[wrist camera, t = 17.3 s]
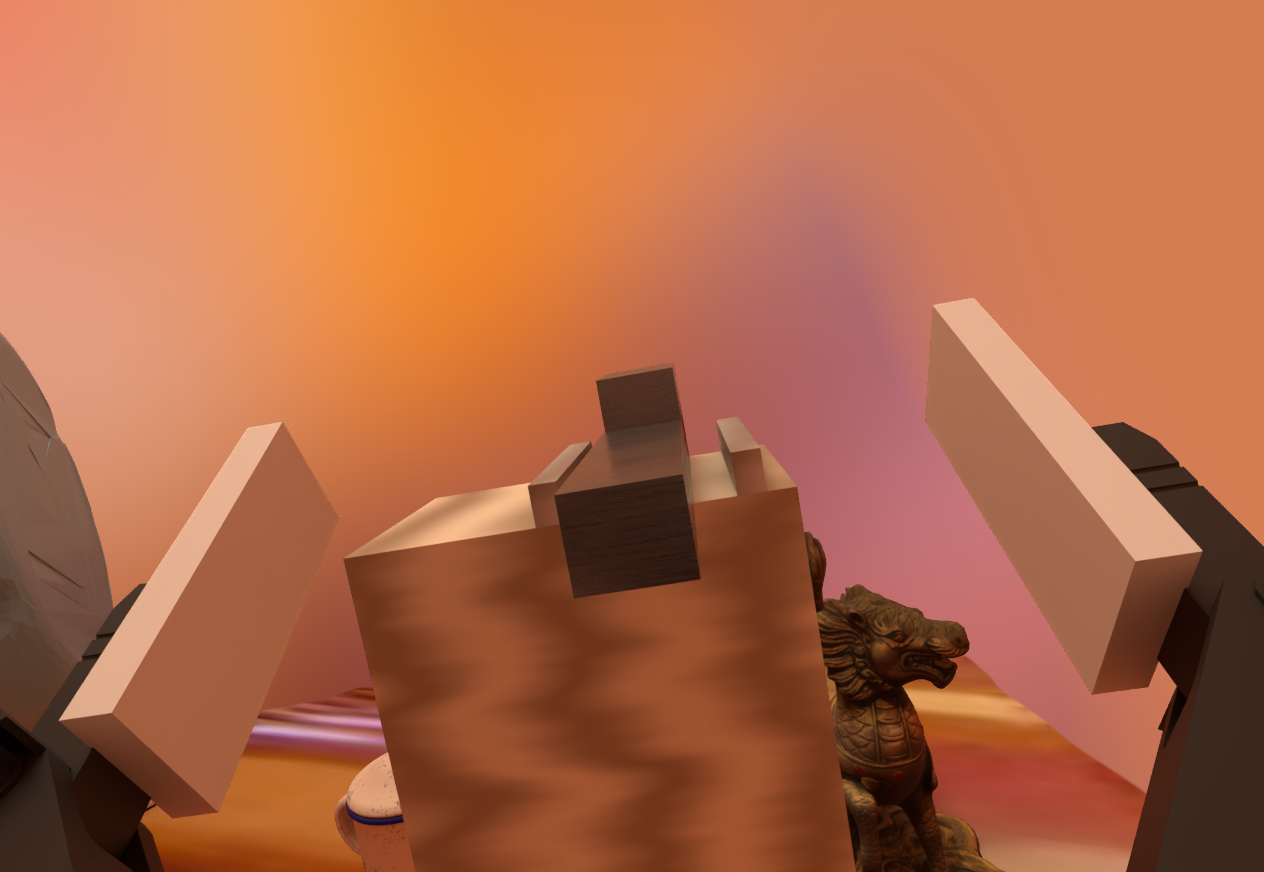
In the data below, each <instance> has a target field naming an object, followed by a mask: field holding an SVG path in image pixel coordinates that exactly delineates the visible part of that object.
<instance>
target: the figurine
mask: <svg viewBox="0 0 1264 872" xmlns="http://www.w3.org/2000/svg"><path fill="white" fill-rule="evenodd" d="M804 536H805V542H806V549H807V555H808V562H809V568H810V575H811V581H812V588H813V595H814V601H815V608H816V614H817V621H818V627H819V634H820V640H821V647H822V653H823V660H824V666H825V673H826V679H827V686H828V692H829V699H830V705H831V712H832V719H833V725H834V732H835V738H836V745H837V751H838V758H839V764H840V771H841V777H842V784H843V790H844V797H845V803H846V810H847V816H848V823H849V830H850V836H851V843H852V849H853V856H854V862H855V869H856V872H1004V871H1002V870H999V869H998V868H996V867H995V866H994V865H992V864H991V863H990V862H988V861H987V860H985V859H983V858H982V856H981V854H980V852H979V844H978V839H977V836H976V834H975V832H974V830H973V829H972V828H971V827H970V826H969V825H968V824H967V823H966V822H964V821H963V820H961V819H959V818H956V817H954V816H949V815H945V814H938V813H936V812H935V808H934V804H933V800H932V792H933V791H934V790H935V789H936V788H937V786H938V781H937V777H936V774H935V771H934V766H933V761H932V756H931V753H930V750H929V747H928V745H927V742H926V739H925V736H924V730H923V726H922V724H921V723H920V720H919V718H918V715H917V712H916V710H915V708H914V705H913V704H912V702H911V700H910V699H909V697H908V695H907V693H906V692H905V690H904V688H903V687H902V685H904V684H906V683H909V682H911V681H914V680H917V679H925V680H928V681H931V682H932V683H933V685H934V686H936V687H937V688H941V689H943V688H945V687H946V686H947V685H948V684H949V683H950V682H951V681H952V680H953V678H954V676H955V673H956V670H957V667H958V666H957V664H956V663H954V662H952V661H950V660H949V659H948V658H956V657H959V656H962V655H965V654H966V652H967V651H968V650H969V641H968V638H967V635H966V632H965V629H964V627H962V626H961V625H960V624H959V623H957V622H952V621H937V620H930V619H926V618H924V616H923V613H922V612H921V611H920V610H918V609H916V608H909V607H906V606H904V605H901V604H899V603H897V602H894V601H892V600H889V599H887V598H884V597H883V596H881V595H880V594H876V593H872V592H871V591H869V590H867V589H866V588H865V587H863V586H862V585H860V584H857V585H855V586H853V587H852V588H845V590H846V594H844V593H843V594H841V597H840V600H835V599H825V600H824V601H823V597H822V586H823V581H824V577H825V571H826V558H825V553H824V551H823V549H822V545H821V543H820V542H819V540H818V539H816V538H813V536H812V534H810V532H804Z"/></svg>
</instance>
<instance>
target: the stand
mask: <svg viewBox="0 0 1264 872" xmlns="http://www.w3.org/2000/svg"><path fill="white" fill-rule="evenodd" d="M716 423H717V428H718V435H719V441H720V447H721V452H715V453H708V454H703V455H697V456H690V457H689V458H690V468H691V479H692V490H693V501H694V512H695V522H696V533H697V544H698V555H699V565H700V576H701V580H694V581H688V582H681V583H674V584H668V585H661V586H654V587H648V588H641V589H635V590H628V591H621V592H615V593H608V594H601V595H595V596H588V597H581V598H575V599H574V597H573V591H572V586H571V581H570V576H569V571H568V566H567V560H566V555H565V550H564V545H563V540H562V534H561V529H560V524H559V519H558V514H557V509H556V503H555V498H554V495H555V493H556V492H557V491H558V490H559V488H560V487H561V486H562V485H563V483H564V482H565V481H566V480H567V478H568V477H569V476H570V475H571V473H572V472H573V471H574V470H575V468H576V467H577V466H578V465H579V463H580V462H581V461H582V460H583V458H584V457H585V456H586V455H587V453H588V452H589V451H590V450H591V448H592V444H591V441H590V442H584V443H578V444H572V445H570V446H569V447H568V448H567V449H566V450H565V451H563V452H562V453H561V454H560V455H559V456H558V457H557V458H556V459H555V460H554V461H553V462H552V463H551V464H550V465H549V466H548V467H547V468H546V469H545V470H544V471H543V472H542V473H541V474H539V475H538V476H537V477H536V478H535V479H534V480H533V481H532V482H531V483H526V484H520V485H514V486H508V487H502V488H496V489H490V490H484V491H478V492H473V493H466V494H460V495H453V496H448V497H442V498H436V499H434V500H433V501H431V502H430V503H428V504H427V505H425V506H424V507H422V508H421V509H419V510H418V511H416V512H414V513H413V514H411V515H410V516H409V517H407V518H405V519H404V520H402V521H401V522H399V523H398V524H396V525H395V526H393V527H391V528H390V529H388V530H387V531H385V532H384V533H382V534H381V535H379V536H378V537H376V538H374V539H373V540H371V541H370V542H369V543H367V544H365V545H364V546H363V547H361V548H359V549H358V550H356V551H355V552H353V553H352V554H350V555H349V556H347V557H345V558H344V563H345V568H346V572H347V576H348V581H349V585H350V589H351V594H352V598H353V602H354V606H355V611H356V615H357V620H358V624H359V628H360V632H361V637H362V641H363V646H364V650H365V654H366V659H367V663H368V668H369V672H370V676H371V681H372V685H373V689H374V694H375V698H376V702H377V707H378V711H379V715H380V720H381V724H382V728H383V733H384V737H385V742H386V746H387V750H388V755H389V759H390V763H391V768H392V772H393V776H394V781H395V785H396V789H397V794H398V798H399V802H400V807H401V811H402V815H403V820H404V824H405V828H406V833H407V837H408V842H409V846H410V850H411V855H412V859H413V863H414V868H415V872H856V869H855V862H854V856H853V849H852V843H851V836H850V830H849V823H848V816H847V810H846V803H845V797H844V790H843V784H842V777H841V771H840V764H839V758H838V751H837V745H836V738H835V732H834V725H833V719H832V712H831V705H830V699H829V692H828V686H827V679H826V673H825V666H824V660H823V653H822V647H821V640H820V634H819V627H818V621H817V614H816V608H815V601H814V595H813V588H812V581H811V575H810V568H809V562H808V555H807V549H806V542H805V536H804V529H803V523H802V516H801V510H800V503H799V497H798V490H797V486H796V485H795V483H794V482H793V481H792V480H791V478H790V477H789V476H788V475H787V473H786V472H785V471H784V470H783V468H782V467H781V466H780V465H779V463H778V462H777V461H776V459H775V458H774V457H773V456H772V454H771V453H770V452H769V451H768V449H767V448H766V447H765V446H764V445H758V444H757V443H756V441H755V440H754V439H753V437H752V436H751V435H750V433H749V432H748V430H747V429H746V428H745V426H744V425H743V424H742V422H741V421H740V420H739V418H738V417H732V418H726V419H721V420H716Z"/></svg>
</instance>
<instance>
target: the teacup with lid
mask: <svg viewBox="0 0 1264 872" xmlns="http://www.w3.org/2000/svg"><path fill="white" fill-rule="evenodd" d="M335 821H336V825H337V828H338V830H339V832H340V834H341V836H342V838H343V839H344V841H345V842H346V843H347V845H348V846H349V847H350V848H351V849H352V850H353V851H355V852H356V853H357V854H359V855H361V856H362V861H363V865H364V869H365V872H415V868H414V863H413V859H412V855H411V850H410V846H409V842H408V837H407V833H406V828H405V824H404V820H403V815H402V811H401V807H400V802H399V798H398V794H397V789H396V785H395V781H394V776H393V772H392V768H391V763H390V759H389V755H388V753H386V754H384V755H382V756H381V757H379V758H377V759H376V760H374V761H373V762H371V763H370V764H369V765H367V766H366V767H365V768H364V769H363V770H362V771H361V772H360V773H359V774H358V775H357V776H356V777H355V778H354V780H353V781H352V783H351V785H350V787H349V789H348V792H347V794H346V795H345V796H344V797H342V798H341V800H340V801H339V802H338V803H337V805H336V808H335Z"/></svg>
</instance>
